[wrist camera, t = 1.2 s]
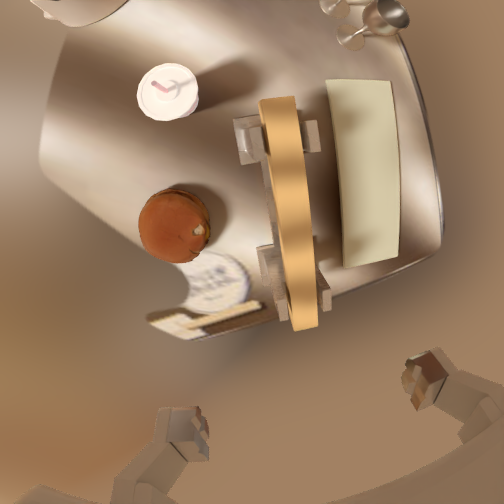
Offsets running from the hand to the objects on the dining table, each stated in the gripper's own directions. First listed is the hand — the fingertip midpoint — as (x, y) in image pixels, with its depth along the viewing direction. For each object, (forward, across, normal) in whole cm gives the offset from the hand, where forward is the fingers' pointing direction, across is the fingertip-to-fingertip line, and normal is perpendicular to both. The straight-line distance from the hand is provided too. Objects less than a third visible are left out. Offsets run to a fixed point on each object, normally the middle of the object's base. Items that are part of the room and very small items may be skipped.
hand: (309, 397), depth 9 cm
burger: (+31, +10, +1) cm, 33 cm away
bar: (+23, -4, +1) cm, 23 cm away
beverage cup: (+30, +6, -15) cm, 35 cm away
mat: (+31, -18, -2) cm, 35 cm away
